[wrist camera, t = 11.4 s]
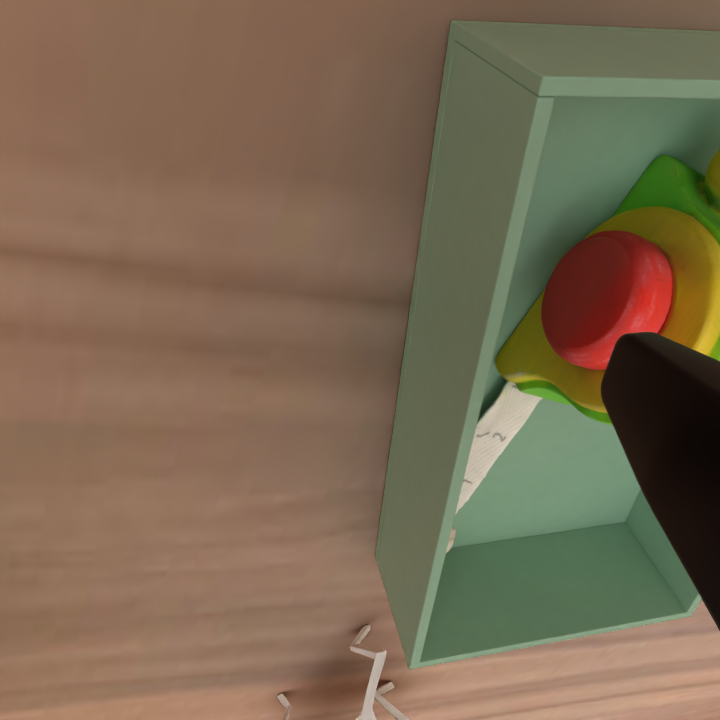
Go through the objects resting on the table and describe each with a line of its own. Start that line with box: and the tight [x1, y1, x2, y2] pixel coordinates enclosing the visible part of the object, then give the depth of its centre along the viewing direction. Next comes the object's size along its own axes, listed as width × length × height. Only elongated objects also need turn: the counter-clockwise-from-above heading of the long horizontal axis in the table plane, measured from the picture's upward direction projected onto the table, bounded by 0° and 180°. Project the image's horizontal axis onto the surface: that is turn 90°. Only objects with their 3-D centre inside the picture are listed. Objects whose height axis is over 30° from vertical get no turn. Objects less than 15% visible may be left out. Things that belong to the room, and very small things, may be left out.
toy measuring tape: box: [446, 148, 720, 553], centre depth 22 cm, size 6×19×7 cm, turn 151°
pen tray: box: [375, 20, 720, 669], centre depth 23 cm, size 22×13×6 cm, turn 175°
